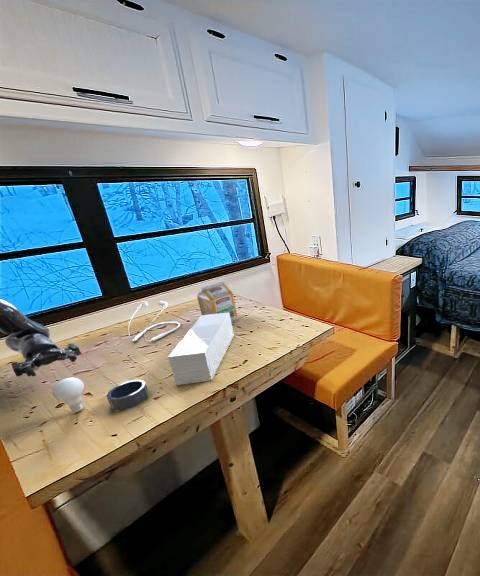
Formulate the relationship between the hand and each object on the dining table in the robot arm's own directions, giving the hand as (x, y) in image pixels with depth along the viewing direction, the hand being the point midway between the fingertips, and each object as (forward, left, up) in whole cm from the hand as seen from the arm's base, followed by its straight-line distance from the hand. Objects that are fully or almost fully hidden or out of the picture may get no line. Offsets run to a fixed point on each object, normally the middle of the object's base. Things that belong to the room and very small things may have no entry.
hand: (53, 366), depth 91 cm
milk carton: (+50, -24, -12) cm, 57 cm away
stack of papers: (+20, -33, -12) cm, 41 cm away
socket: (-3, -21, -11) cm, 24 cm away
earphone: (+41, 0, -12) cm, 43 cm away
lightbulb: (-7, -9, -12) cm, 16 cm away
